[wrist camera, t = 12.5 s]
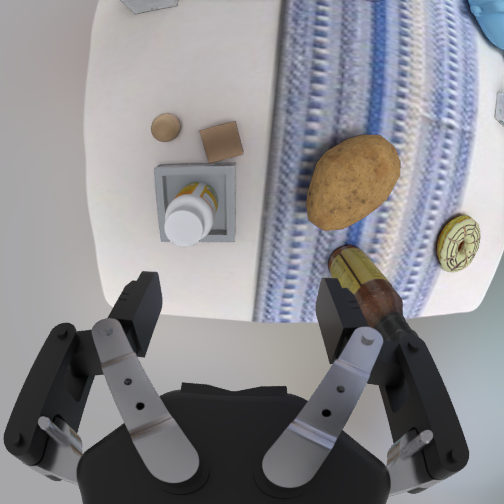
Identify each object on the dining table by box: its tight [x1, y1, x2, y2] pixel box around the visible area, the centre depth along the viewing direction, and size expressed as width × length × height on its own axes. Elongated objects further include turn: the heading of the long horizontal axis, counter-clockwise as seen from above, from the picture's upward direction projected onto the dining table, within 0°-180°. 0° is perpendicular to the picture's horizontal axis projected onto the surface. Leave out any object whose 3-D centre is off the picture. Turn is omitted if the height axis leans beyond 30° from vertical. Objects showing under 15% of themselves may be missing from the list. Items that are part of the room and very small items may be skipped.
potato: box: [306, 135, 400, 231], centre depth 31 cm, size 10×14×8 cm
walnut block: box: [200, 121, 243, 163], centre depth 31 cm, size 4×4×4 cm
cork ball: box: [151, 114, 180, 142], centre depth 30 cm, size 4×4×4 cm
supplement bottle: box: [164, 182, 218, 247], centre depth 31 cm, size 5×5×10 cm
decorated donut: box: [437, 215, 481, 272], centre depth 38 cm, size 10×11×4 cm
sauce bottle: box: [328, 245, 418, 342], centre depth 32 cm, size 6×6×20 cm
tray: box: [154, 163, 235, 242], centre depth 35 cm, size 10×10×2 cm
